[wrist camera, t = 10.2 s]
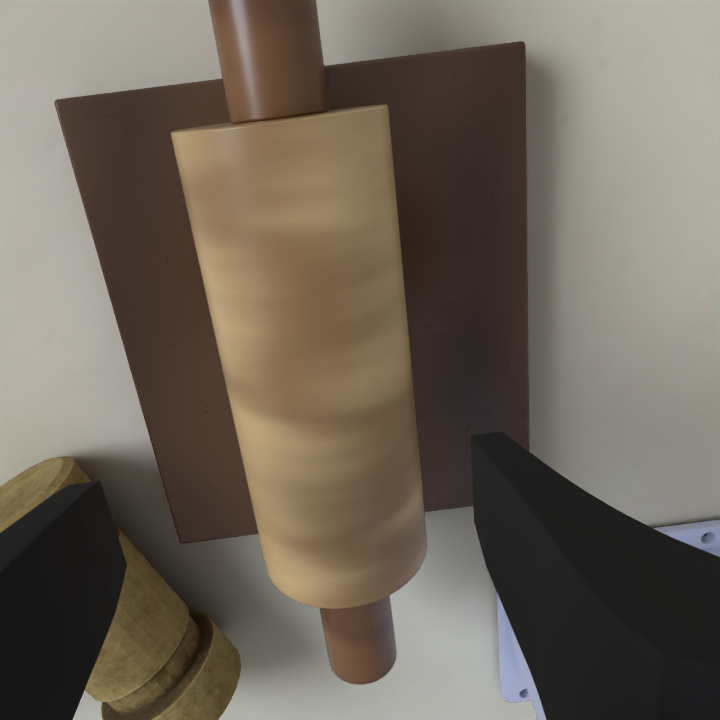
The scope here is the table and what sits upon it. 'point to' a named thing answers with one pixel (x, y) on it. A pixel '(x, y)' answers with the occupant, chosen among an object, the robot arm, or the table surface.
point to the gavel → (141, 628)
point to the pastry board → (418, 249)
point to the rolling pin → (311, 325)
